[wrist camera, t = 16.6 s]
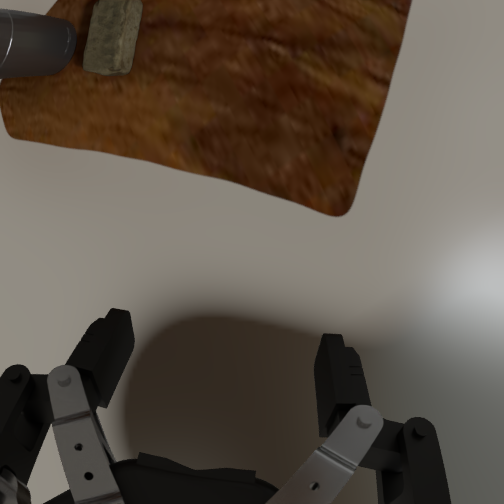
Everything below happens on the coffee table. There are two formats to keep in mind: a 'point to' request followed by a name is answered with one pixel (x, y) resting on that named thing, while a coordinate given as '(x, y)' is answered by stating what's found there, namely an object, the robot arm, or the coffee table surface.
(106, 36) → the stone block
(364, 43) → the coffee table surface
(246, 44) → the coffee table surface
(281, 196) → the coffee table surface
